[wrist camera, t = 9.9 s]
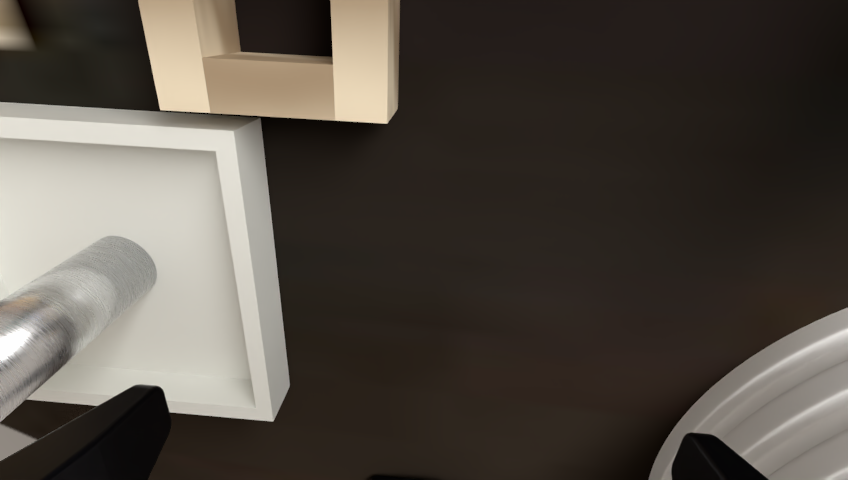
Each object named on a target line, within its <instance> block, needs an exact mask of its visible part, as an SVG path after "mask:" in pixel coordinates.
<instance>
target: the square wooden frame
mask: <svg viewBox="0 0 848 480" xmlns="http://www.w3.org/2000/svg"><path fill="white" fill-rule="evenodd" d="M330 1H331V27H332V52H333V57H325V56H307V55H288V54H270V53H251V52H241V50H240V41H239V33H238V25H237V17H236V8H235V0H138V3H139V8H140V13H141V18H142V22H143V27H144V32H145V37H146V42H147V47H148V52H149V57H150V62H151V67H152V72H153V77H154V82H155V87H156V92H157V96H158V101H159V106H160V110H166V111H183V112H200V113H216V114H233V115H250V116H266V117H283V118H300V119H317V120H333V121H350V122H367V123H383V124H387V123H388V122H389V120H390V119H391V118H392V116H393V115H394V113H395V112H396V110H397V109H398V74H399V22H400V0H330Z"/></svg>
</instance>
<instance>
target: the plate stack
mask: <svg viewBox="0 0 848 480" xmlns="http://www.w3.org/2000/svg"><path fill="white" fill-rule="evenodd" d="M690 432H693V433H705V434H711V435H714V436H716V437H717V438H719V439H720V440H721V441H723V442H724V443H725V444H726V445H727V446H729V447H730V448H731V449H732V450H734V451H735V452H736V453H737V454H738V455H740V456H741V457H742V458H743V459H745V460H746V461H747V462H748V463H749V464H751V465H752V466H753V467H754V468H755V469H757V470H758V471H759V472H760V473H762V474H763V475H764V476H765V477H766V478H768V479H769V480H848V308H846V309H843V310H841V311H838V312H836V313H833V314H831V315H829V316H826V317H824V318H822V319H820V320H817V321H815V322H813V323H811V324H809V325H807V326H805V327H803V328H801V329H799V330H797V331H795V332H793V333H791V334H789V335H787V336H785V337H783V338H782V339H780V340H778V341H776V342H775V343H773V344H771V345H770V346H768V347H766V348H765V349H763V350H761V351H760V352H758V353H757V354H755V355H754V356H752V357H751V358H749V359H748V360H746V361H745V362H743V363H742V364H740V365H739V366H738V367H736V368H735V369H733V370H732V371H731V372H730V373H728V374H727V375H726V376H725V377H723V378H722V379H721V380H720V381H718V382H717V383H716V384H715V385H714V386H713V387H711V388H710V389H709V390H708V391H707V392H706V393H705V394H704V395H703V396H702V397H701V398H700V399H699V400H698V401H697V402H696V403H695V404H694V405H693V406H692V407H691V408H690V409H689V410H688V411H687V412H686V414H685V415H684V416H683V417H682V418H681V420H680V421H679V422H678V423H677V425H676V426H675V427H674V429H673V430H672V431H671V433H670V434H669V436H668V437H667V439H666V441H665V442H664V444H663V446H662V447H661V449H660V451H659V453H658V455H657V457H656V460H655V462H654V464H653V467H652V470H651V473H650V476H649V480H672V475H671V469H672V464H673V461H674V459H675V456H676V454H677V451H678V449H679V446H680V444H681V441H682V439H683V437H684V435H686V434H687V433H690Z"/></svg>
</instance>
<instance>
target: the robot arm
mask: <svg viewBox="0 0 848 480" xmlns="http://www.w3.org/2000/svg"><path fill="white" fill-rule="evenodd" d="M170 429H171V416H170V412H169V409H168V405H167V401H166V398H165V394H164V391H163V389H162V388H161V387H160V386H155V385H144V384H138V385H134V386H132V387H130V388H128V389H126V390H125V391H123V392H121V393H119V394H118V395H116V396H114V397H112V398H111V399H109V400H107V401H105V402H104V403H102V404H100V405H98V406H97V407H95V408H93V409H91V410H90V411H88V412H86V413H84V414H83V415H81V416H79V417H77V418H75V419H74V420H72V421H70V422H68V423H67V424H65V425H63V426H61V427H60V428H58V429H56V430H54V431H53V432H51V433H49V434H47V435H46V436H44V437H42V438H40V439H39V440H37V441H35V442H33V443H32V444H30V445H28V446H26V447H25V448H23V449H21V450H19V451H17V452H16V453H14V454H12V455H11V456H9V457H7V458H5V459H4V460H2V461H0V480H148V478H149V475H150V473H151V471H152V469H153V467H154V465H155V463H156V460H157V458H158V456H159V454H160V452H161V450H162V448H163V445H164V443H165V441H166V439H167V437H168V435H169V432H170ZM671 475H672V480H769V479H768V478H766V477H765V476H764V475H763V474H762V473H760V472H759V471H758V470H757V469H755V468H754V467H753V466H752V465H751V464H749V463H748V462H747V461H746V460H745V459H743V458H742V457H741V456H740V455H738V454H737V453H736V452H735V451H734V450H732V449H731V448H730V447H729V446H727V445H726V444H725V443H724V442H723V441H721V440H720V439H719V438H717V437H716V436H714V435H711V434H705V433H693V432H690V433H687V434H686V435H684V437H683V439H682V441H681V444H680V446H679V449H678V451H677V454H676V456H675V459H674V461H673V464H672V469H671ZM370 480H415V479H405V478H394V477H384V476H374V477H372V478H371V479H370Z"/></svg>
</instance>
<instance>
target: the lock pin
mask: <svg viewBox="0 0 848 480" xmlns="http://www.w3.org/2000/svg"><path fill="white" fill-rule="evenodd" d="M156 280H157V270H156V266H155V263H154V261H153V260H152V258H151V256H150V255H149V254H148V253H147V252H146V251H145V250H144V249H143V248H142V247H141V246H140V245H138V244H137V243H135V242H133V241H131V240H129V239H127V238H124V237H119V236H107V237H103V238H101V239H99V240H97V241H96V242H94V243H92V244H91V245H89V246H88V247H86V248H84V249H83V250H81V251H80V252H78V253H76V254H75V255H73V256H71V257H70V258H68V259H67V260H65V261H63V262H62V263H60V264H59V265H57V266H55V267H54V268H52V269H51V270H49V271H47V272H46V273H44V274H42V275H41V276H39V277H38V278H36V279H34V280H33V281H31V282H30V283H28V284H26V285H25V286H23V287H21V288H20V289H18V290H17V291H15V292H13V293H12V294H10V295H9V296H7V297H5V298H4V299H2V300H1V301H0V422H1V421H2V420H3V419H4V418H5V417H6V416H8V415H9V414H10V413H11V412H12V411H13V410H14V409H16V408H17V407H18V406H19V405H20V404H21V403H22V402H23V401H25V400H26V399H27V398H28V397H29V396H30V395H31V394H33V393H34V392H35V391H36V390H37V389H38V388H39V387H40V386H42V385H43V384H44V383H45V382H46V381H47V380H48V379H50V378H51V377H52V376H53V375H54V374H55V373H56V372H57V371H59V370H60V369H61V368H62V367H63V366H64V365H65V364H66V363H68V362H69V361H70V360H71V359H72V358H73V357H74V356H76V355H77V354H78V353H79V352H80V351H81V350H82V349H83V348H85V347H86V346H87V345H88V344H89V343H90V342H91V341H93V340H94V339H95V338H96V337H97V336H98V335H99V334H100V333H102V332H103V331H104V330H105V329H106V328H107V327H108V326H109V325H111V324H112V323H113V322H114V321H115V320H116V319H117V318H119V317H120V316H121V315H122V314H123V313H124V312H125V311H126V310H128V309H129V308H130V307H131V306H132V305H133V304H134V303H136V302H137V301H138V300H139V299H140V298H141V297H142V296H143V295H145V294H146V293H147V292H148V291H149V290H150V289H151V288H152V287H153V286H154V285H155V283H156Z"/></svg>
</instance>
